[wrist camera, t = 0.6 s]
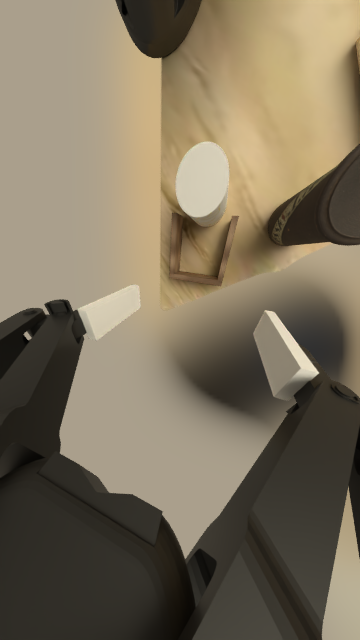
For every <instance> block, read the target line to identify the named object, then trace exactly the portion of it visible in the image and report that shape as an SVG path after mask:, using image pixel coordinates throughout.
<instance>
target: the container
mask: <svg viewBox="0 0 360 640" xmlns="http://www.w3.org/2000/svg"><path fill="white" fill-rule="evenodd" d="M268 233H269V237H270V239H271V240H272V241H273V242H274V243H275V244H278V245H281V246H289V245H301V244H312V243H322V242H331V243H334V244H338V245H359V244H360V144H359V145H358V146H357V147H356V148H355V149H354V150H353V151H352V152H351V153H349V154H348V155H347V156H346V157H345V159H344V160H343V161H342V162H341V163H340V164H339V165H338V166H336V167H335V168H334V169H332V170H331V171H329V172H328V173H326V174H325V175H323V176H322V177H320V178H319V179H317V180H316V181H315V182H313V183H312V184H310V185H309V186H308V187H306V188H305V189H303V190H302V191H300V192H299V193H297V194H296V195H294V196H293V197H291V198H290V199H288V200H287V201H286V202H284V203H283V204H282V205H280V206H279V207H278V208H277V209H276V210H275V211H274V213H273V214H272V216H271V218H270V220H269V225H268Z"/></svg>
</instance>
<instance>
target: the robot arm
mask: <svg viewBox="0 0 360 640" xmlns="http://www.w3.org/2000/svg"><path fill="white" fill-rule="evenodd" d="M116 3H117V6H118V9H119V12H120V14H121V16H122V19H123V21H124V23H125V26H126V28H127V30H128V32H129V35H130V36H131V38H132V40H133V42H134V43H135V45H136V46H137V47H138V49H139V50H140V51H141V52H142V53H144V54H146V55H147V56H149V57H152V58H161V57H164V56H166V55H168V54H170V53H171V52H172V51H173V50H175V49H176V48H177V46H178V45H179V44H180V43H181V42H182V40H183V39H184V37H185V36H186V34H187V32H188V31H189V29H190V27H191V25H192V23H193V21H194V19H195V16H196V14H197V11H198V9H199V6H200V3H201V0H116ZM45 307H46V308H47V310H48V312H49V314H50V315H45V313H44V311H43V309H40V308H30V309H26V310H23V311H21V312H19V313H17V314H15V315H13V316H11V317H10V318H8V319H6V320H4V321H3V322H1V323H0V640H322V625H323V619H324V613H325V607H326V603H327V597H328V592H329V587H330V581H331V575H332V571H333V565H334V560H335V555H336V549H337V544H338V538H339V533H340V527H341V522H342V517H343V512H344V506H345V500H346V496H347V490H348V486H349V492H350V499H351V505H352V512H353V518H354V525H355V531H356V537H357V544H358V551H359V557H360V398H359V397H358V396H357V395H356V394H355V393H354V392H353V391H352V390H350V389H349V388H347V387H346V386H344V385H342V384H340V383H338V382H336V381H333V380H331V379H330V377H329V376H328V375H327V374H326V372H325V371H324V370H323V369H322V367H321V366H320V365H319V364H318V363H317V361H316V360H315V359H314V358H313V356H312V355H311V354H310V352H309V351H308V350H307V349H305V348H304V347H303V346H302V345H300V344H297V343H296V341H295V340H294V338H293V337H292V336H291V334H290V333H289V332H288V330H287V329H286V328H285V327H284V325H283V323H282V322H281V321H280V319H279V318H278V317H277V315H276V314H275V313H274V312H271V311H266V310H265V312H264V313H263V315H262V318H261V319H260V321H259V323H258V325H257V327H256V329H255V331H254V333H253V335H254V338H255V341H256V344H257V347H258V350H259V353H260V356H261V359H262V362H263V365H264V369H265V372H266V375H267V377H268V381H269V384H270V387H271V390H272V393H273V396H274V397H276V398H279V399H282V400H285V401H288V400H290V399H291V398H292V397H293V396H294V397H295V399H296V402H297V403H296V404H295V405H294V406H292V407H291V408H290V409H289V410H288V411H286V412H287V413H288V414H287V416H286V417H285V419H284V420H283V422H282V423H281V425H280V426H279V428H278V429H277V431H276V432H275V434H274V435H273V437H272V438H271V440H270V441H269V443H268V444H267V446H266V447H265V449H264V450H263V452H262V453H261V454H260V456H259V457H258V459H257V460H256V462H255V463H254V465H253V466H252V468H251V470H250V471H249V472H248V474H247V475H246V477H245V479H244V480H243V481H242V483H241V484H240V486H239V487H238V489H237V490H236V492H235V493H234V495H233V496H232V498H231V499H230V501H229V502H228V503H227V505H226V506H225V508H224V509H223V511H222V512H221V514H220V515H219V516H218V517H217V518H216V519H215V520H214V521H213V523H211V524H210V526H209V527H208V528H207V529H206V531H205V532H204V533H203V535H202V536H201V537H200V539H199V541H198V542H197V543H196V545H195V546H194V548H193V549H192V551H191V552H190V554H189V555H188V556H187V558H186V559H185V558H184V555H183V552H182V550H181V546H180V545H179V542H178V540H177V538H176V536H175V533H174V531H173V530H172V528H171V527H170V525H169V523H168V522H167V520H166V519H165V518H164V517H163V515H162V511H161V510H159V509H157V508H156V507H154V506H152V505H150V504H148V503H147V502H145V501H143V500H141V499H140V498H138V497H136V496H134V495H132V494H116V493H109V492H108V491H107V489H106V488H105V486H104V485H103V484H102V482H101V481H100V479H99V478H98V477H97V476H96V475H94V474H93V473H91V472H90V471H88V470H86V469H85V468H83V467H82V466H80V465H79V464H77V463H76V462H74V461H72V460H70V459H68V458H66V457H65V456H63V455H61V454H60V446H61V444H60V443H61V442H60V437H59V430H60V426H61V423H62V419H63V415H64V412H65V408H66V404H67V401H68V397H69V393H70V389H71V386H72V382H73V378H74V374H75V371H76V367H77V363H78V360H79V355H80V352H81V348H82V345H83V341H84V337H83V335H84V334H85V333H87V335H88V338H89V339H92V340H95V341H97V340H98V339H100V338H101V337H102V336H103V335H105V334H106V333H108V332H109V331H110V330H112V329H113V328H114V327H116V326H117V325H118V324H119V323H120V322H122V321H123V320H125V319H126V318H127V317H129V316H130V315H131V314H132V313H134V312H135V311H137V310H138V309H139V308H140V307H141V306H140V294H139V286H138V285H130V286H128V287H126V288H123V289H121V290H119V291H117V292H115V293H112V294H110V295H108V296H105V297H103V298H101V299H99V300H97V301H94V302H92V303H90V304H87V305H85V306H83V307H81V308H79V309H77V310H75V311H73V310H72V308H71V305H70V303H69V301H68V300H54V301H50V302H47V303H46V304H45ZM26 331H27V332H28V333H29V335H30V336H31V337H32V339H30V340H27V339H26V337H25V336H24V335H23V334H24V333H25V332H26Z"/></svg>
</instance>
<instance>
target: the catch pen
mask: <svg viewBox="0 0 360 640" xmlns="http://www.w3.org/2000/svg"><path fill="white" fill-rule="evenodd" d="M238 217H239V216H232V219H231V223H230V228H229V232H228V236H227V240H226V245H225V249H224V253H223V258H222V262H221V266H220V271H219V275H218V277H216V276H209V275H202V274H195V273H188V272H181V271H179V268H180V255H181V242H182V229H183V217H182V216H180V215H179V214H178V213H172V230H171V255H170V278H173V279H179V280H186V281H192V282H198V283H205V284H211V285H217V286H221V284H222V280H223V277H224V273H225V269H226V265H227V261H228V257H229V253H230V249H231V245H232V241H233V237H234V233H235V229H236V225H237V221H238Z"/></svg>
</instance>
